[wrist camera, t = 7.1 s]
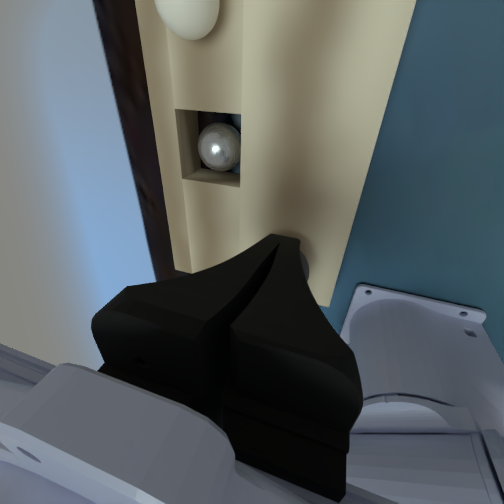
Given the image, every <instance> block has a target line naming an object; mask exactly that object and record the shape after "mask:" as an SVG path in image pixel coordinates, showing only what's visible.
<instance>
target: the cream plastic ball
mask: <svg viewBox="0 0 504 504" xmlns="http://www.w3.org/2000/svg"><path fill="white" fill-rule="evenodd" d="M154 1H155V5H156V8H157V11H158V13H159V15H160V17H161V19H162V21H163V22H164V24H165V25H166V26H167V27H168V28H169V30H170V31H172V32H173V33H174V34H175V35H177V36H179V37H181V38H183V39H186V40H197V39H201V38H203V37H204V36H206V35H207V34H208V33H209V32H210V31H211V30H212V29H213V27H214V25H215V23H216V21H217V17H218V13H219V5H220V0H154Z"/></svg>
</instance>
